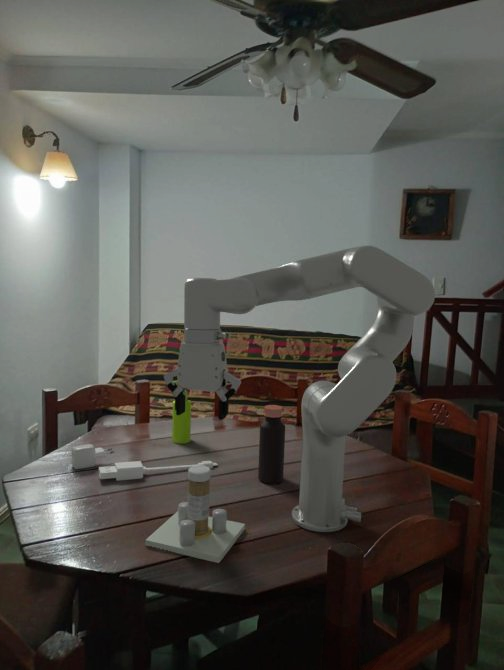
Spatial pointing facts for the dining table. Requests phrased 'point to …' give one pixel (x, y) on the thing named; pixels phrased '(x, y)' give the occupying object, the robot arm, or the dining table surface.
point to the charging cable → (137, 470)
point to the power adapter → (87, 455)
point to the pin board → (183, 540)
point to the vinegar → (271, 446)
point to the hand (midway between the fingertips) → (201, 415)
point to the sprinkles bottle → (199, 497)
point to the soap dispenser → (182, 423)
